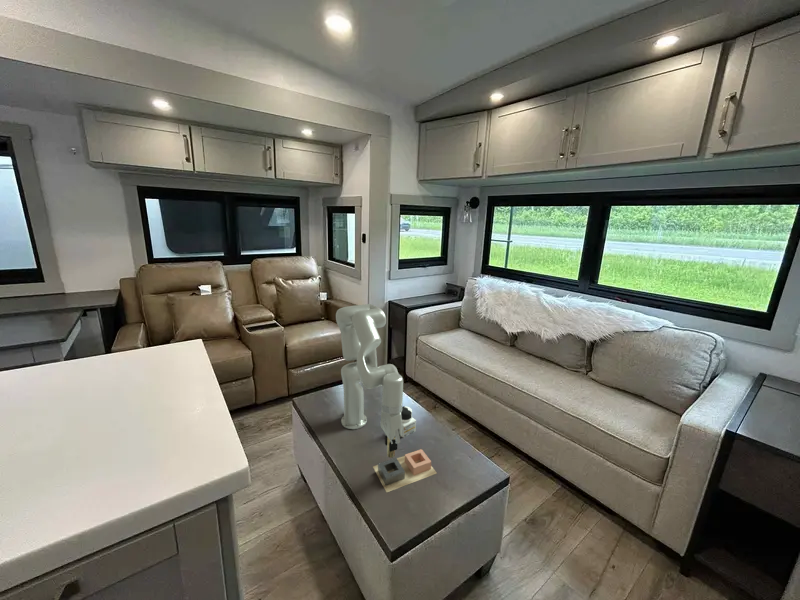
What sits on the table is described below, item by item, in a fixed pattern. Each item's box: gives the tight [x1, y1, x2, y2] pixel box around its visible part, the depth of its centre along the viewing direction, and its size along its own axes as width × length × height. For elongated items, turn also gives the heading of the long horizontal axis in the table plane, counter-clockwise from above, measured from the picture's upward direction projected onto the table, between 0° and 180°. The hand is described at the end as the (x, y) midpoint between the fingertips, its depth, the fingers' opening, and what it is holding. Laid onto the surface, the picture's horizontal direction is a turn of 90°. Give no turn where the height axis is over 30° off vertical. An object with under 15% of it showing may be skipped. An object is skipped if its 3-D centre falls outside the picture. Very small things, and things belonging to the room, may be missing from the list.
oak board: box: [372, 455, 438, 493], centre depth 133 cm, size 14×22×2 cm, turn 116°
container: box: [401, 405, 417, 439], centre depth 155 cm, size 8×8×13 cm
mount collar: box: [377, 457, 405, 485], centre depth 130 cm, size 8×8×4 cm
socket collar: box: [404, 448, 432, 475], centre depth 135 cm, size 8×8×4 cm
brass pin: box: [386, 437, 396, 459], centre depth 127 cm, size 3×3×9 cm
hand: (391, 446), depth 127 cm, fingers closed on brass pin, 3 cm apart
